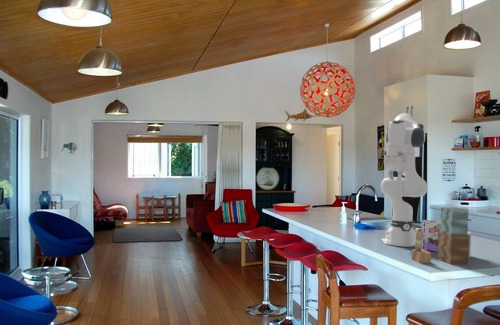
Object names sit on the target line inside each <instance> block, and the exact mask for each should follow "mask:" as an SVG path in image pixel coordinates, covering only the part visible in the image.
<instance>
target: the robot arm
mask: <svg viewBox="0 0 500 325" xmlns="http://www.w3.org/2000/svg"><path fill="white" fill-rule="evenodd" d="M385 136H386V139H385V140H386V142H387V147H386V148H387V149H385V151H384V152H383V156H384V169H385V171H388V177H384V178H383V179H382V180H381V182H380V190H381V192H382V194H383V195H385V196H386V197H387V198H388V199H389V202H390V203H391V207H392V219H391V221H390V226H389V227H388V229H387V230H386V231H385V232H384V237H385V238H381V241H382V242H383V243H384V245H388V246H389V245H390V246H396V247H407V248H408V247H409V248H410V247H415V241H416V229H415V230H414V221H413V216H414V215H413V214H414V212H413V211H414V210H413V207H412V205H411V204H409V203H408V202H406V201H404V200H403V197H405V198H406V197H410V198H419V197H424V196H425V195H426V194H427V192H428V183H427V181H426V180H425V179H423V178H422V177H421V176H419V174H418V173H417V169H416V148H420V147H422V146H423V145H424V144H425V141H426V129H425V126H424V124H423V123H418V122H416V121H415V120H414V118H413V116H411V114H409V113H406V112H403V113H400V114H398V115H397V116H396V117H395V118H394V120H390V122H389V124H388V126H387V129H386V131H385ZM394 172H397V176H394Z"/></svg>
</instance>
